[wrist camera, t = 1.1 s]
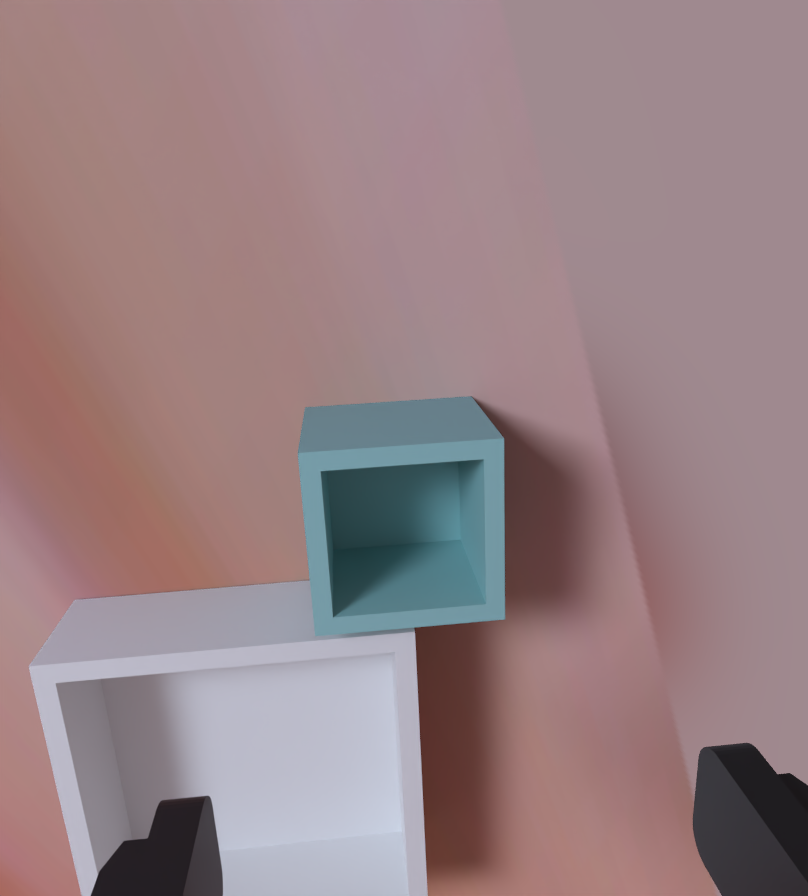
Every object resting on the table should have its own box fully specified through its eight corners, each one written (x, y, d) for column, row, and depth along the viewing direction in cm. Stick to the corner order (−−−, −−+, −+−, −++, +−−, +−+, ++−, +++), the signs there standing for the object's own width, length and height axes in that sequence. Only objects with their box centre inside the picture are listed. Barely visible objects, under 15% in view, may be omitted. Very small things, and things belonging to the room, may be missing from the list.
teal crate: (305, 406, 26) (297, 452, 21) (470, 395, 27) (504, 438, 21) (318, 558, 28) (314, 636, 23) (473, 546, 28) (504, 619, 23)
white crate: (74, 600, 27) (28, 666, 23) (403, 572, 28) (414, 631, 24) (127, 859, 31) (95, 956, 27) (416, 828, 32) (428, 916, 28)
